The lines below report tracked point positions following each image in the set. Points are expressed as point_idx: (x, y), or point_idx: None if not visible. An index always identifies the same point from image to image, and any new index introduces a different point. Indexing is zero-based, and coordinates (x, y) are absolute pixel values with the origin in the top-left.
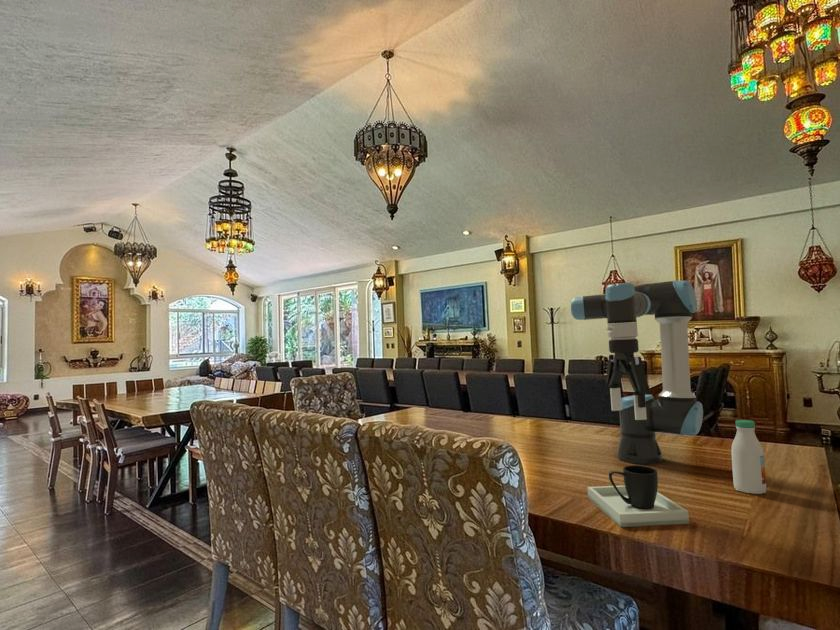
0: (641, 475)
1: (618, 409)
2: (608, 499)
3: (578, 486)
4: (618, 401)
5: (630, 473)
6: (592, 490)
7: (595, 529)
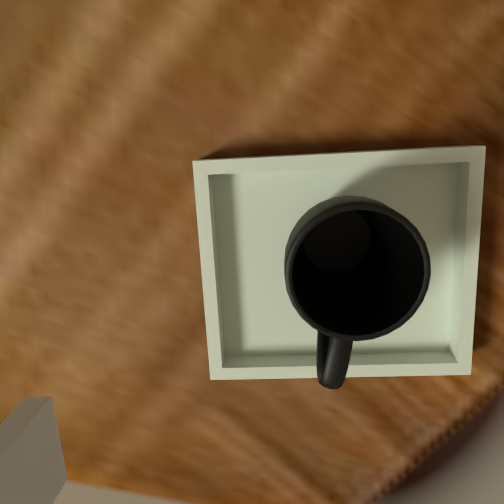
0: (424, 297)
1: (51, 433)
2: (269, 322)
3: (104, 355)
4: (2, 491)
5: (391, 330)
6: (246, 375)
7: (458, 424)
